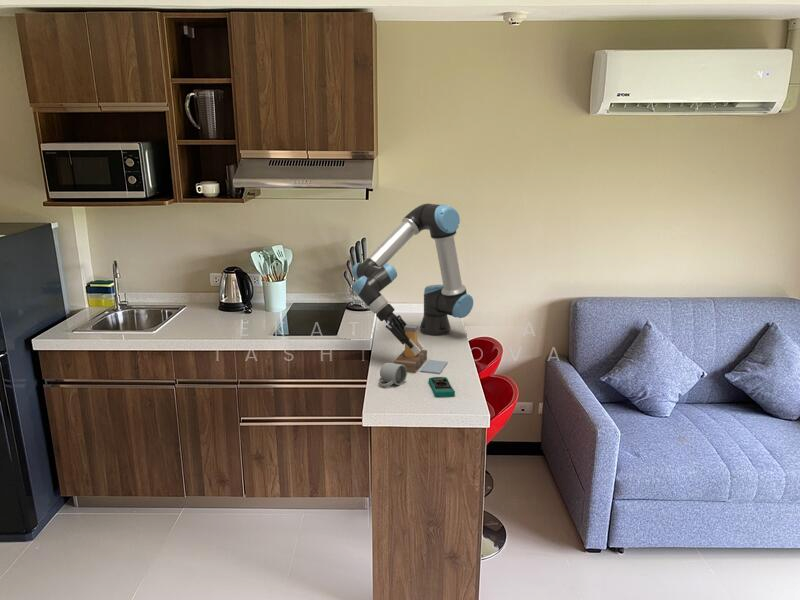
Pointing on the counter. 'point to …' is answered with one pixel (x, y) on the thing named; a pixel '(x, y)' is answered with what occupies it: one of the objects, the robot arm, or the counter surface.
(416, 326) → the plug
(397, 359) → the wooden socket block
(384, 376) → the ceramic mug
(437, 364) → the mat
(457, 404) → the counter surface
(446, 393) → the digital multimeter
